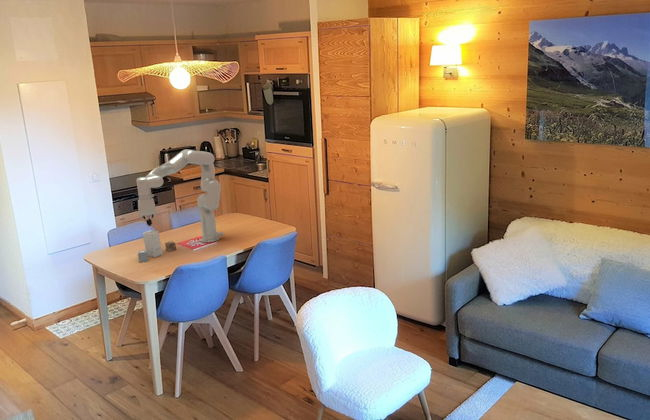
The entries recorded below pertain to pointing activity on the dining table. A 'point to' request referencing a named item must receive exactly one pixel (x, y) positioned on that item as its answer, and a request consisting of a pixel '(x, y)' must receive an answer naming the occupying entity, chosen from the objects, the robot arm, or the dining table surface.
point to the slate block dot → (143, 256)
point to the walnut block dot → (170, 246)
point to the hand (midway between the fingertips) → (149, 225)
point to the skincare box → (152, 243)
